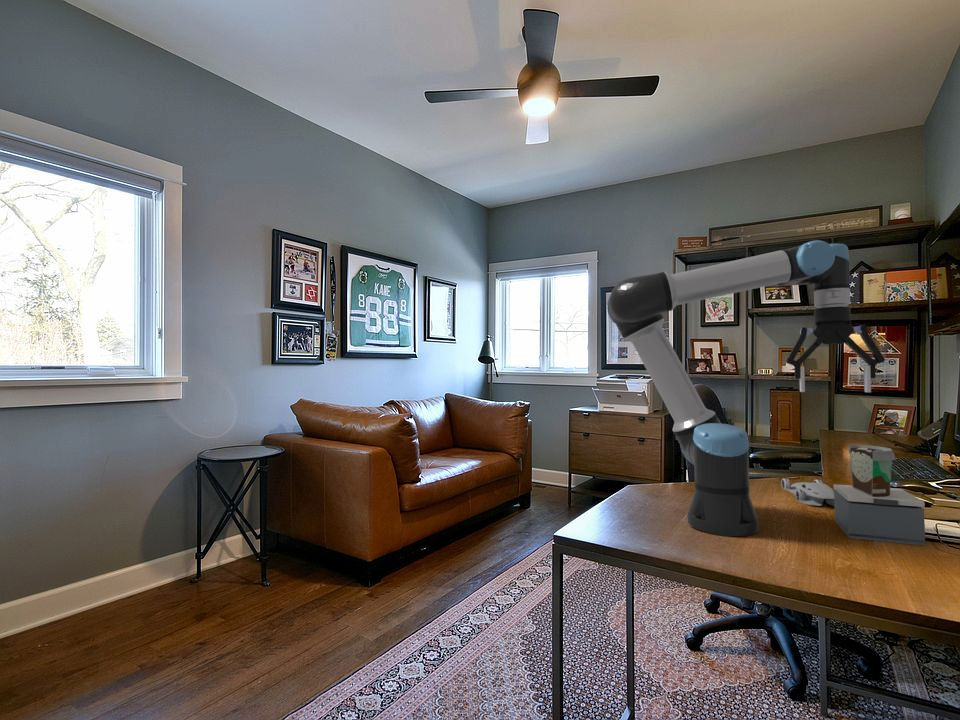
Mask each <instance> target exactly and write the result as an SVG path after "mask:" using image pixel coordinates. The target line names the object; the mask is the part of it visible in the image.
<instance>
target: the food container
mask: <svg viewBox="0 0 960 720" xmlns="http://www.w3.org/2000/svg"><path fill="white" fill-rule="evenodd" d="M848 454H849V458H850V471H851V484H852V485H851V486H852V487H853V488H854V489H856V490H858V491H861V492H863V493H865V494H867V495H870V496H872V497H885V496H889V495H890V488H891V485H892V484H891V483H892V469H893V468H892V466H893V461H896V460H897V459H896V456H895V452H893V449H892V448H889V447H884V446H877V445H876V446H875V445H867V444H865V445H864V444H863V445H862V444H849V447H848Z"/></svg>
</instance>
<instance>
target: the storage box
mask: <svg viewBox="0 0 960 720" xmlns="http://www.w3.org/2000/svg"><path fill="white" fill-rule="evenodd" d="M833 491H834V504H835V507H834V521H835V522H836V523H837V525H838V526H839V527H840V528H841V530H843V532H844V533H845V534H846V536H847V537H848V538H849V539H855V540H856V539H857V540H858V539H859V540H867V541H878V542H887V543H897V544H904V545H905V544H906V545H916V546H924V545H925V546H926V534H925V533H926V532H925V531H926V529H925V509H924V507H918V506H905V505H898V506H894V505H881V504H874V503H866V502H853V501H847V500H846V499H845V498H844V497H843V496H842V495H840V494H839V493H838V492H837V491H836V490H835V489H834V488H833Z"/></svg>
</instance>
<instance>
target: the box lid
mask: <svg viewBox="0 0 960 720" xmlns="http://www.w3.org/2000/svg"><path fill="white" fill-rule="evenodd" d="M834 489H835V490H836V491H837V492H838V493H839V494H840V495H842V496H843V497H844V498H845V499H846V500H847V501H853V502H866V503H874V504H881V505H894V506H898V505H905V506H918V507H922V508H925V505H926V504H925V501H923V500H922V499H920V498H918V497H916V496H915V495H913V494H911V493H910V492H907V491H906V490H904V489H903V488H893V487H890V495H889V496H885V497H872V496H870V495H867V494H865V493H863V492H861V491H858V490H856V489H854V488H853V487H852V485H850V484H849V485H848V484H835V483H834V484H833V490H834Z"/></svg>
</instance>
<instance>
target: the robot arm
mask: <svg viewBox="0 0 960 720" xmlns="http://www.w3.org/2000/svg"><path fill="white" fill-rule="evenodd" d="M850 264H851V261H850V252H849V247H848V246H847V245H846V244H845V243H828V242H826V241H823V240H819V239H818V240H816V239H815V240H811V241H808V242H805V243H803V244H801V245H798V246H794V247H790V248H786V249H782V250H776V251H771V252H767V253H762V254H758V255H754V256H748V257H743V258H740V259H736V260H730V261H725V262H722V263H717V264H713V265H708V266H705V267H703V266H702V267H699V268H695V269H690V270H686V271H682V272H677V273H676V272H675V273H671V274H670V273H668V272H667V271H661V272H657V273H651V274H645V275H644V274H643V275H639V276H633V277H627V278H625V279H623V280H621V281H619V282H618V283H617V284H615V286H614V288H613V289H612V290H611V292H610V295H609V297H608V299H607V314H608V316H609V319H610V320H611V321H612V322H613V323H614V324H615V325H616V327H617V329H618V331H619V332H620V335H621V337H622V338H623V339H622V340H625V341H627V342H630V343H631V344H632V345H633V347H634V349H635V350H636V352H637V354H638V356H639V358H640V360H641V362H642V364H643V365H644V368H645V370H646V371H647V373H648V375H649V376H650V378H651V380H652V382H653V384H654V387H655V388H656V390H657V392H658V393H659V395H660V397H661V398H662V401H663V402H664V404H665V407H666V409H667V410H668V413H669V414H670V416H671V417H672V419H673V421H674V424H673V427H672V429H671V430H672V432H673V434H674V435H675V439H677V441H678V443H679V447H680V450H681V453H682V455H683V457H684V458H685V460H687V462H689V463H690V464H691V465H693V466H694V468H693V469H694V493H693V496H692V499H691V502H690V504H689V508H688V511H687V524H688V523H689V524H690V525H691V526H693V527H694V528H693V527H692V528H693V529H695V528H697V529H696V530H698V529H699V530H698V531H700V530H702V531H701V532H704V531H705V533H708V534H712V533H713V535H719V536H729V537H730V536H731V537H732V536H733V537H742V536H744V537H745V536H751V535H755V534H756V533H758V532H759V530H760V529H759V527H760V526H759V523H760V522H759V518H758V516H757V512H756V510H755V508H754V505H753V502H752V499H751V496H750V462H749V461H750V460H749V459H750V458H749V457H750V455H749V450H750V442H749V435H748V433H747V431H746V430H745V429H743V427H740V426H737V425H731V424H729V423H728V424H727V423H722V422H721V420H720V419H719V417H718V415H717V414H716V411H714V410H711V409H708V408H707V407H706V406H705V404H704V402H703V400H702V398H701V397H700V395H699V393H698V391H697V389H696V387H695V385H694V384H693V382H692V380H691V378H690V376H689V375H688V373H687V371H686V369H685V367H684V366H683V363H682V361H681V360H680V358H679V356H678V355H677V353H676V351H675V348H674V347H673V345H672V344H671V341H670V340H669V338H668V335H666V333H665V330H664V329H663V325H664V321H665V317H664V316H663V314H662V313H667V312H672V311H673V310H674V309H675V308H676V307H677V306H679V305H684V304H688V303H689V304H690V303H693V302H699V301H704V300H707V299H713V298H717V297H722V296H727V295H731V294H737V293H740V292H745V291H751V290H754V289H759V288H760V289H761V288H763V287H765V288H766V287H783V286H784V287H787V286H802V285H803V286H804V285H809V286H810V285H813V306H814V307H815V309H814V310H813V311H814V313H813V314H814V315H813V317H814V325H813V327H811V328H809V327H804V326H803V327H801V328H800V329H799V336H798V338H797V340H796V342H795V344H794V345H793V347H792V349H791V351H790V353H789V355H788V357H787V358H786V360H785V363H786V364H789V365H791V366H793V368H794V378H795V379H799V392H800V393H806V387H805V386H806V385H805V384H806V383H805V382H806V380H805V379H806V378H805V377H806V376H805V366H804V365H803V363H804V362H805V361H806V360H807V359H808V358H809V356H811V355H812V353H813V352H814V351H815V350H816V349H818V347H819V346H820V345H821V344H823V345H825V346H826V345H832V344H833V345H834V344H835V345H842V344H845V345H846V346H847V347H849V348H850V349H851V350H852V351H853V352H854V353H855V354H856V355H857V356H859V358H861V359H862V361H863V362H865V363H866V364H867V365H863V387H864V389H863V392H864V393H872V382H871V380H872V379H875V378H876V375H877V373H876V369H877V368H876V366H877V365H878V364H881V363H884V362H885V361H886V359H885V357H884V355H883V354H882V352H881V351H880V349H879V347H878V346H877V345H876V343H875V341H874V340H873V339H872V337H871V336H870V334H869V330H868V326H867V325H866V324H861V325H857V326H853V325H852V312H851V311H852V310H851V307H850V306H849V305H850V304H851V287H850V285H851V284H850V282H851V281H850V278H851V277H850V275H851V274H850V273H851V272H850ZM853 332H854V333H856V334H857V335H858V336H860V337H861V340H862V341H863V342H864V345H866V347H867V348H868V350H869V352H870V353H871V355H872V356H873V358H872V357H871V356H870V355H869V354H868V353H867V352H866V351H865V350H864V349H863V348H861V346H860V345H858V343H856V342H855V341H854V340H853V338H851V337H850V336H851V335H853ZM811 334H813V335H814V337H816V339H815V340H814V341H813V342H812V343H811V345H810V346H808V347H807V349H805V351H804V352H803V353H802V354H801V355H800V356H799V357H798V358H797V359H796V360H795V358H796V357H797V355H798V352H799V351H800V349H801V347H802V345H803V343H804V341H805V340H806V338H807V337H809V336H810V335H811ZM801 365H802V366H801ZM689 524H688V525H689ZM690 525H689V526H690ZM691 526H690V527H691Z"/></svg>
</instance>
